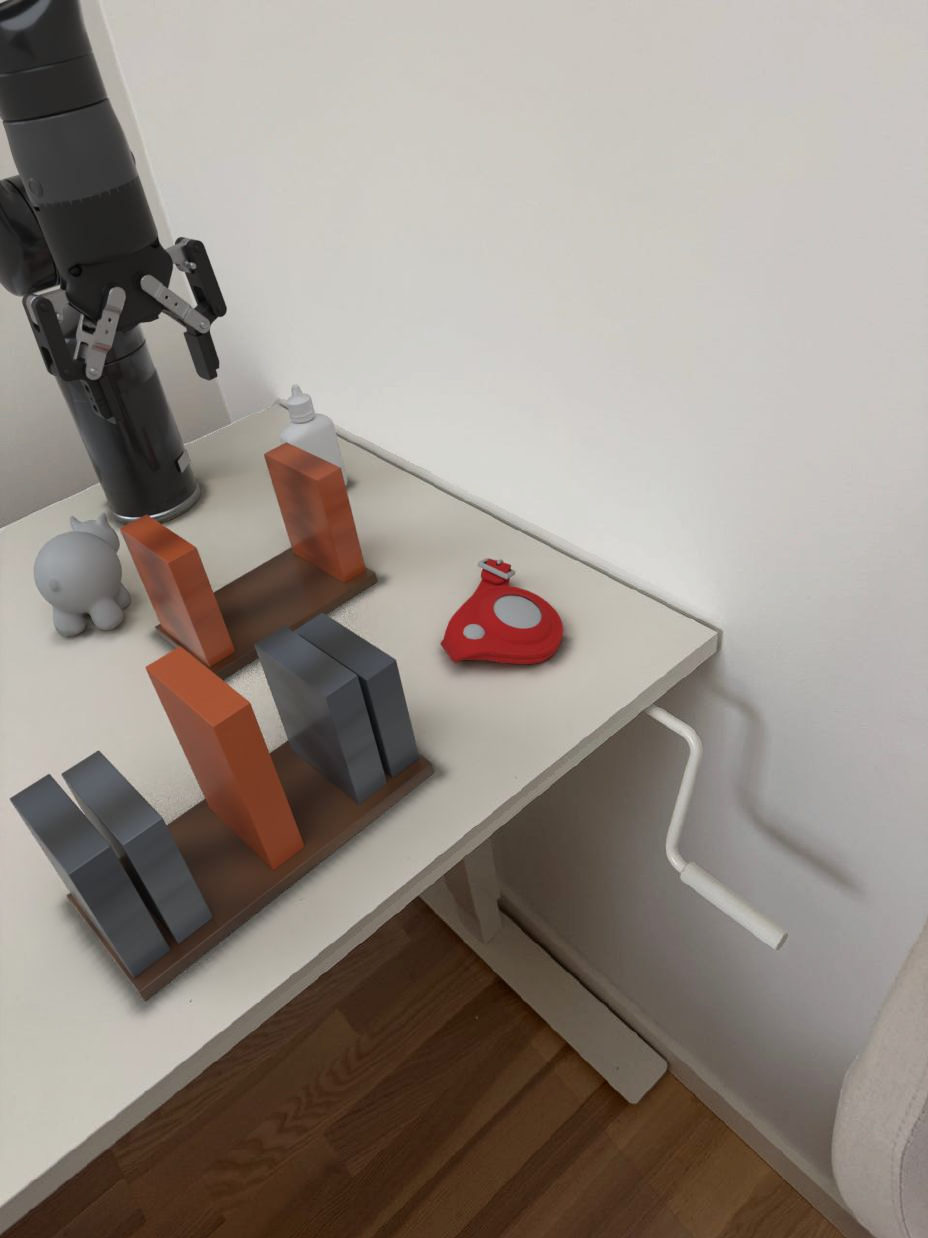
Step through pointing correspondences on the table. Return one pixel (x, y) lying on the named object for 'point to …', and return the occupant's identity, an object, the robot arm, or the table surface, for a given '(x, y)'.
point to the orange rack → (257, 569)
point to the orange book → (227, 755)
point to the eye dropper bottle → (311, 430)
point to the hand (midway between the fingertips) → (162, 398)
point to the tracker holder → (502, 622)
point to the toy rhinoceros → (82, 577)
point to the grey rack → (201, 841)
